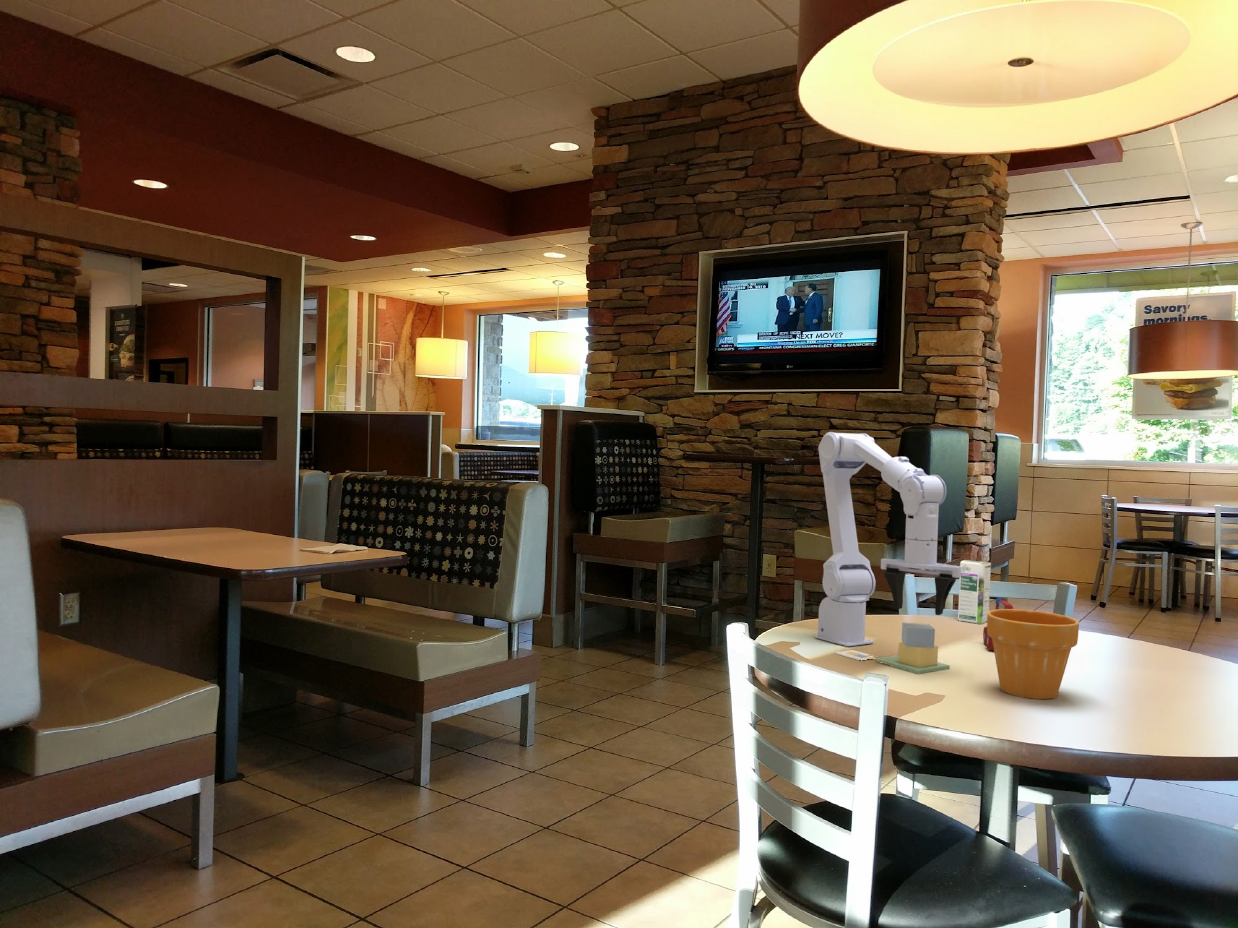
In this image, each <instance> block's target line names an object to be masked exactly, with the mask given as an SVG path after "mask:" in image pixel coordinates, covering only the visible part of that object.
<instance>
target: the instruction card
mask: <svg viewBox="0 0 1238 928" xmlns="http://www.w3.org/2000/svg"><path fill="white" fill-rule="evenodd" d="M834 654H836V655H838V656H843V657H846V658H849V659H853V660H856V661H859V660H861V661H860V662H863V661H862V660H866V661H868V660H867V659H866V658H869V657H873V656H874V655H872V656H867V655H870V654H868V653H865V652H861V651H857V650H854V649H849V650H844V651H843V650H842V651H835V652H834Z"/></svg>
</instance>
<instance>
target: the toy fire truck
mask: <svg viewBox="0 0 1238 928" xmlns="http://www.w3.org/2000/svg"><path fill="white" fill-rule="evenodd" d="M997 609H1014V607H1013V605H1012V604H1011V603H1010V602H1008V601H1007V600H1006V599H1005V598H1004V597H1003V596H999V597H997V598H996V599H995V608H994V610H997ZM982 636H983V638H982V639H983V640H982V641H983V644H984V646H986V650H987V651H990V652H994V646H993V641H992V638H991V637H990V636H989V635H988V634H987V626H984V628H983V634H982Z"/></svg>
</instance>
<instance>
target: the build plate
mask: <svg viewBox="0 0 1238 928" xmlns="http://www.w3.org/2000/svg"><path fill="white" fill-rule="evenodd" d="M875 660H876V661H878V662H883V663H886V664H888V665H892V666H894V667H893V668H895V667H897V668H896V669H899V668H902V669H903V670H904V671H906V670H908V671H907V672H909V671H912V672H911V673H913V672H914V674H916V673H918V674H917V675H920V674H919V673H921V674H926V673H930V672H929V671H933V672H938V671H942V670H943V669H944V670H948V669H947V668H950V667H951V666H950V664H946V663H942V662H939V661H937V665H931V666H925V667H917V666H913V665H910V664H906V663H902V662H899V661H898V655H891V656H884V657H880V658H876V659H874V661H875ZM888 665H887V666H888ZM892 666H891V667H892ZM902 669H901V670H902ZM950 669H951V668H950ZM937 670H938V671H937ZM944 670H943V671H944Z"/></svg>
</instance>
